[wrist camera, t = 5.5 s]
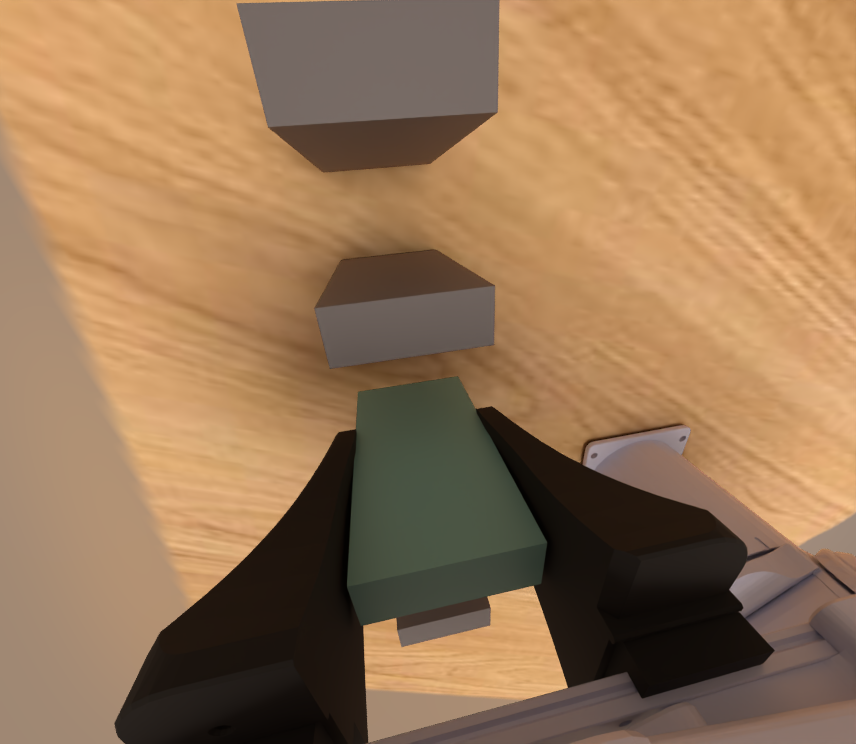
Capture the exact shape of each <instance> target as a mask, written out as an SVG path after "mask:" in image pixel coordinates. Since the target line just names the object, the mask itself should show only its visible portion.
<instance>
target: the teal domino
mask: <svg viewBox="0 0 856 744" xmlns="http://www.w3.org/2000/svg"><path fill="white" fill-rule="evenodd" d="M356 432H357V436H356V453H355V458H354V471H353V488H352V506H351V524H350V541H349V559H348V576H347V589H348V591H349V594H350V597H351V600H352V602H353V605H354V608H355V611H356V614H357V616H358V619H359V622H360V625H361V626H363V625H368V624H372V623H376V622H380V621H385V620H389V619H393V618H397V617H402V616H406V615H410V614H414V613H419V612H423V611H427V610H431V609H436V608H440V607H444V606H448V605H453V604H457V603H461V602H465V601H470V600H474V599H478V598H483V597H487V596H491V595H495V594H500V593H504V592H508V591H512V590H517V589H521V588H525V587H529V586H534V585H538V584H541V582H542V575H543V568H544V561H545V554H546V548H547V541H546V539H545V538H544V536H543V534H542V532H541V530H540V528H539V526H538V525H537V523H536V521H535V519H534V517H533V515H532V513H531V512H530V510H529V508H528V506H527V504H526V502H525V500H524V498H523V497H522V495H521V493H520V491H519V489H518V487H517V485H516V484H515V482H514V480H513V478H512V476H511V474H510V472H509V471H508V469H507V467H506V465H505V463H504V461H503V459H502V458H501V456H500V454H499V452H498V450H497V448H496V446H495V444H494V443H493V441H492V439H491V437H490V435H489V434H488V432H487V431H486V429H485V428H484V426H483V424H482V422H481V420H480V418H479V416H478V415H477V413H476V409H475V407H474V405H473V403H472V402H471V400H470V398H469V396H468V394H467V392H466V390H465V389H464V387H463V385H462V383H461V381H460V379H459V377H458V376H457V377H450V378H444V379H437V380H431V381H425V382H418V383H412V384H405V385H399V386H392V387H386V388H380V389H373V390H367V391H360V392H358V401H357V418H356Z"/></svg>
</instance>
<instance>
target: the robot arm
mask: <svg viewBox="0 0 856 744" xmlns="http://www.w3.org/2000/svg"><path fill="white" fill-rule="evenodd" d="M476 413H477V415H478V416H479V418H480V420H481V422H482V424H483V426H484V428H485V429H486V431H487V432H488V434H489V435H490V437H491V439H492V441H493V443H494V444H495V446H496V448H497V450H498V452H499V454H500V456H501V458H502V459H503V461H504V463H505V465H506V467H507V469H508V471H509V472H510V474H511V476H512V478H513V480H514V482H515V484H516V485H517V487H518V489H519V491H520V493H521V495H522V497H523V498H524V500H525V502H526V504H527V506H528V508H529V510H530V512H531V513H532V515H533V517H534V519H535V521H536V523H537V525H538V526H539V528H540V530H541V532H542V534H543V536H544V538H545V539H546V541H547V548H546V554H545V561H544V568H543V575H542V582H541V584H538V585H534V588H535V591H536V593H537V596H538V599H539V602H540V605H541V608H542V610H543V613H544V616H545V619H546V622H547V625H548V628H549V631H550V634H551V637H552V640H553V643H554V646H555V649H556V652H557V655H558V658H559V661H560V664H561V667H562V670H563V673H564V676H565V679H566V683H567V686H568V688H566V689H563V690H559V691H555V692H552V693H548V694H544V695H541V696H537V697H533V698H530V699H526V700H523V701H519V702H515V703H512V704H509V705H504V706H501V707H497V708H494V709H490V710H486V711H483V712H479V713H476V714H472V715H468V716H464V717H461V718H457V719H453V720H450V721H446V722H443V723H439V724H435V725H432V726H428V727H424V728H421V729H417V730H413V731H410V732H407V733H403V734H399V735H396V736H392V737H388V738H385V739H381V740H377V741H374V742H370V743H368V730H367V709H366V688H365V663H364V635H363V626H361V625H360V622H359V619H358V616H357V614H356V611H355V608H354V605H353V602H352V600H351V597H350V594H349V591H348V589H347V576H348V559H349V541H350V524H351V506H352V488H353V471H354V458H355V453H356V436H357V432H356V429H355V430H349V431H343V432H339V433H338V434H337V435H336V437H335V439H334V441H333V442H332V444H331V446H330V448H329V450H328V451H327V453H326V455H325V457H324V458H323V460H322V462H321V463H320V465H319V467H318V468H317V470H316V471H315V473H314V475H313V476H312V478H311V479H310V481H309V482H308V484H307V485H306V487H305V488H304V489H303V491H302V492H301V494H300V495H299V497H298V498H297V499H296V501H295V502H294V503H293V505H292V506H291V507H290V509H289V510H288V511H287V512H286V514H285V515H284V516H283V517H282V518H281V520H280V521H279V522H278V523H277V524H276V526H275V527H274V528H273V529H272V530H271V531H270V532H269V533H268V535H267V536H266V537H265V538H264V539H263V540H262V541H261V542H260V543H259V544H258V545H257V546H256V547H255V548H254V550H253V551H252V552H251V553H250V554H249V555H248V556H247V557H246V558H245V559H244V560H243V561H242V562H241V563H240V564H239V565H237V566H236V567H235V568H234V569H233V570H232V571H231V572H230V573H229V574H228V575H227V576H226V577H225V578H224V579H223V580H221V581H220V582H219V583H218V584H217V585H216V586H215V587H214V588H213V589H211V590H210V591H209V592H208V593H207V594H206V595H205V596H203V597H202V598H201V599H200V600H199V601H197V602H196V603H195V604H194V605H193V606H191V607H190V608H189V609H188V610H187V611H185V612H184V613H183V614H182V615H181V616H180V617H178V618H177V619H176V620H175V621H173V622H172V623H171V624H170V625H169V626H168V627H166V628H165V629H164V630H162V631H161V632H160V634H159V635H158V637H157V639H156V641H155V643H154V645H153V646H152V648H151V650H150V652H149V653H148V655H147V657H146V659H145V661H144V664H143V666H142V668H141V670H140V672H139V674H138V676H137V678H136V680H135V682H134V684H133V686H132V689H131V690H130V692H129V694H128V697H127V698H126V701H125V703H124V705H123V707H122V709H121V711H120V713H119V715H118V717H117V719H116V721H115V728H116V733H117V735H118V737H119V738H120V739H121V740H122V741H123V742H124V743H125V744H856V556H854V555H852V554H849V553H842V552H833V551H831V550H829V549H821V550H820V551H819V552H818V553H817V554H816V555H815V556H814V555H812V554H810V553H808V552H806V551H804V550H802V549H800V548H799V547H797V546H796V545H795V544H794V543H792V542H791V541H790V540H788V539H787V538H786V537H785V536H783V535H782V534H781V533H780V532H778V531H777V530H776V529H774V528H773V527H772V526H771V525H769V524H768V523H767V522H766V521H764V520H763V519H762V518H760V517H759V516H758V515H757V514H755V513H754V512H753V511H752V510H750V509H749V508H748V507H746V506H745V505H744V504H743V503H741V502H740V501H739V500H738V499H736V498H735V497H734V496H732V495H731V494H730V493H729V492H727V491H726V490H725V489H724V488H722V487H721V486H720V485H718V484H717V483H716V482H715V481H713V480H712V479H711V478H710V477H708V476H707V475H706V474H704V473H703V472H702V471H701V470H699V469H698V468H697V467H696V466H694V465H693V464H692V463H690V462H689V461H688V460H687V459H685V458H684V457H683V456H682V453H683V450H684V448H685V445H686V442H687V440H688V437H689V434H690V431H691V430H690V428H689V427H687V426H686V425H680V426H675V427H669V428H664V429H658V430H653V431H648V432H642V433H637V434H632V435H626V436H621V437H615V438H610V439H605V440H599V441H594V442H590V443H589V444H588V445H587V446H586V449H585V455H584V460H583V465H582V464H580V463H578V462H576V461H574V460H572V459H570V458H568V457H567V456H565V455H563V454H561V453H559V452H558V451H556V450H554V449H553V448H551V447H549V446H548V445H546V444H544V443H543V442H541V441H540V440H538V439H537V438H535V437H534V436H532V435H531V434H529V433H528V432H526V431H525V430H523V429H522V428H521V427H519V426H518V425H516V424H515V423H514V422H512V421H511V420H510V419H508V418H507V417H506V416H504V415H503V414H502V413H500V412H499V411H498V410H496V409H495V408H493V407H486V408H480V409H476Z"/></svg>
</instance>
